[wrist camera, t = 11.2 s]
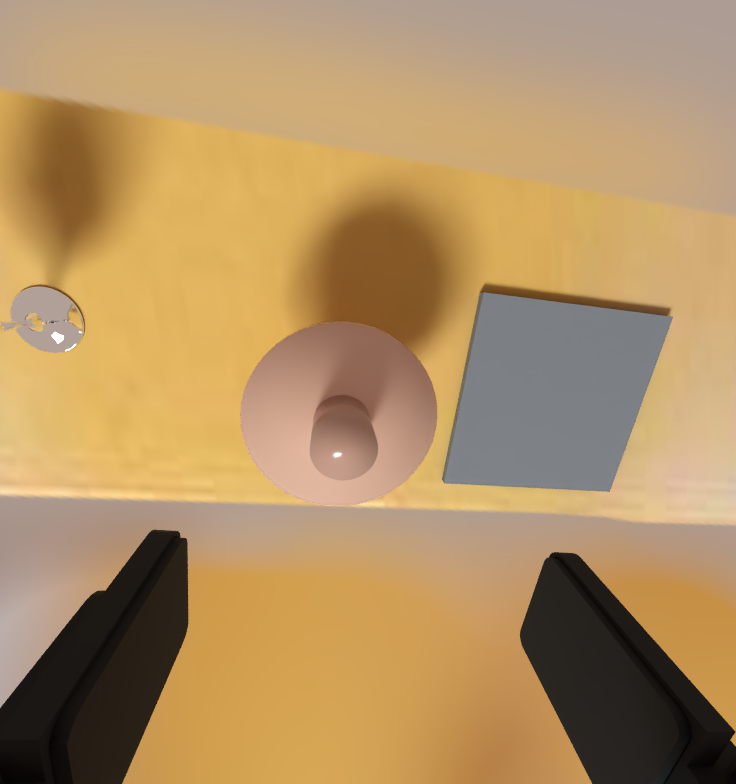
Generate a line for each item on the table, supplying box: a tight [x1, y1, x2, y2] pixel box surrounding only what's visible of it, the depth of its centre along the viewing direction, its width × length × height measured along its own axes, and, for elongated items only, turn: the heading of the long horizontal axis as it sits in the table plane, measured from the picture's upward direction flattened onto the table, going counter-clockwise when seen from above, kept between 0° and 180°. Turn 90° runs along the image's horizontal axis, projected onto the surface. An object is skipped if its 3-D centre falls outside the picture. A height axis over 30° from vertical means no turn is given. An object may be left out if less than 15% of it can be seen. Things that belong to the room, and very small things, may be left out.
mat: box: [442, 292, 673, 492], centre depth 29 cm, size 16×16×1 cm
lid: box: [240, 321, 437, 506], centre depth 18 cm, size 11×11×4 cm
